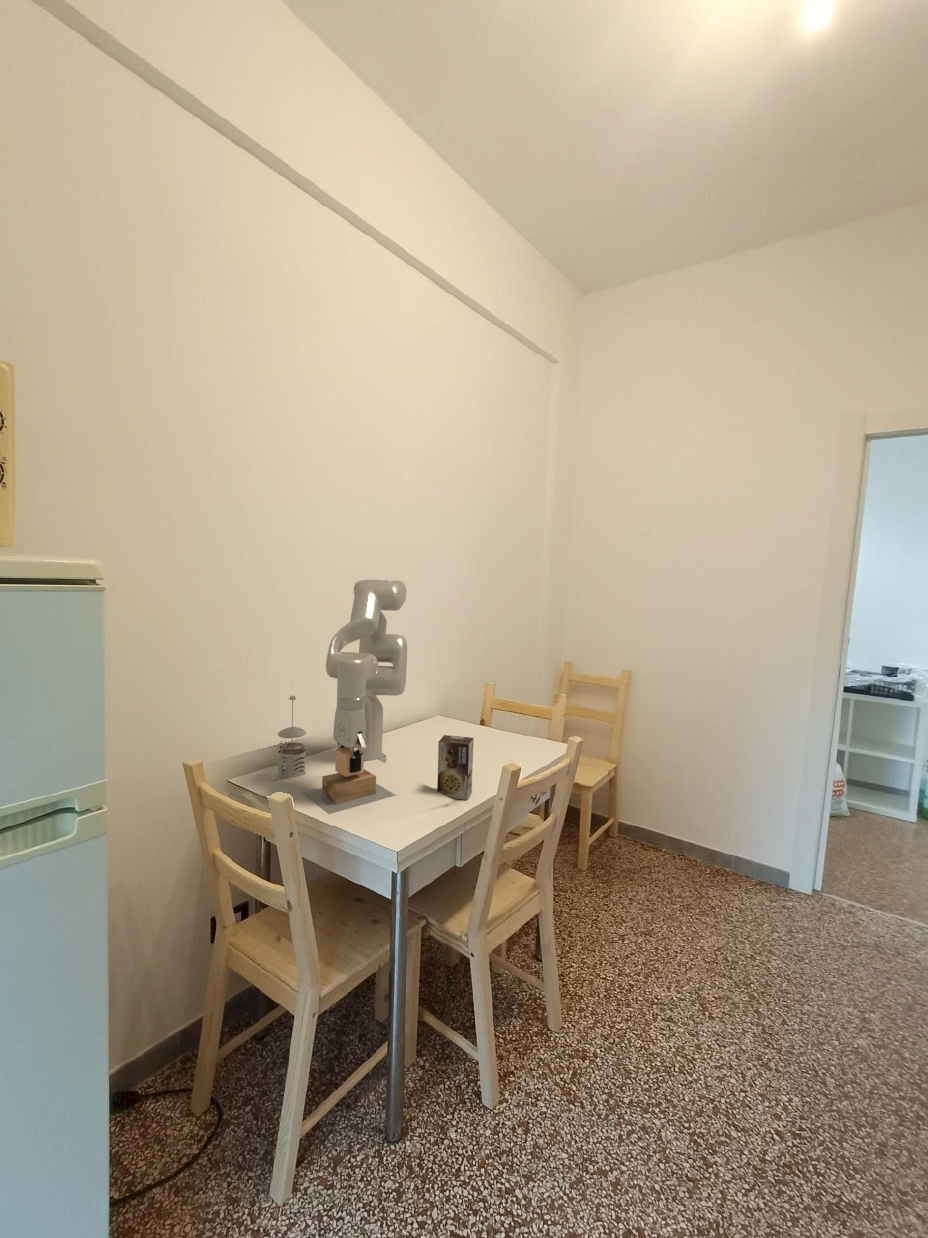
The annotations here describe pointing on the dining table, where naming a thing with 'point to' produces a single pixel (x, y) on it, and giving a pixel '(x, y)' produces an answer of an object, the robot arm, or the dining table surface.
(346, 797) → the walnut brick
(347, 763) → the peach cube
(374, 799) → the base plate
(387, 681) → the robot arm
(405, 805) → the dining table surface
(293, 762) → the french press
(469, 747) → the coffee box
